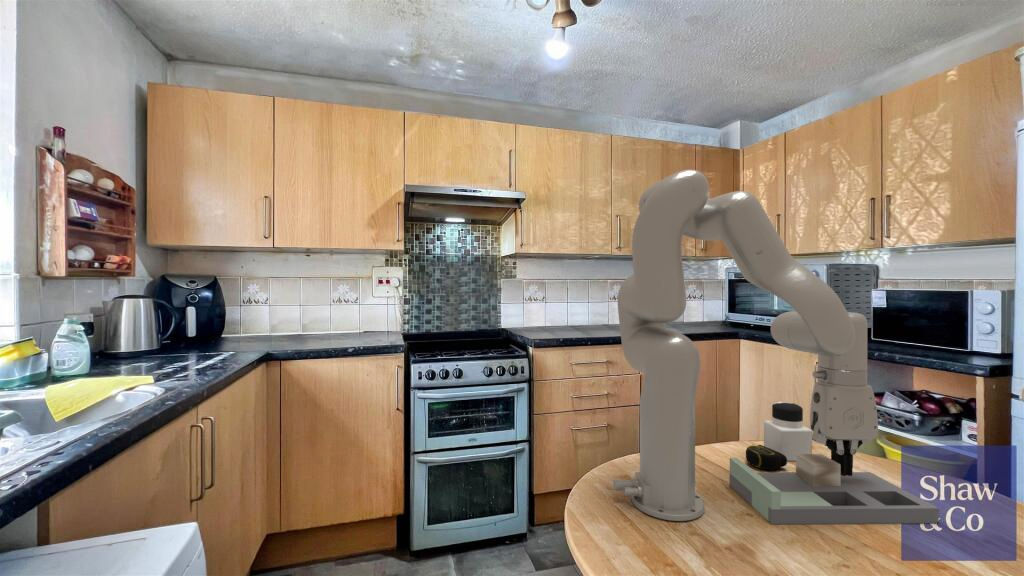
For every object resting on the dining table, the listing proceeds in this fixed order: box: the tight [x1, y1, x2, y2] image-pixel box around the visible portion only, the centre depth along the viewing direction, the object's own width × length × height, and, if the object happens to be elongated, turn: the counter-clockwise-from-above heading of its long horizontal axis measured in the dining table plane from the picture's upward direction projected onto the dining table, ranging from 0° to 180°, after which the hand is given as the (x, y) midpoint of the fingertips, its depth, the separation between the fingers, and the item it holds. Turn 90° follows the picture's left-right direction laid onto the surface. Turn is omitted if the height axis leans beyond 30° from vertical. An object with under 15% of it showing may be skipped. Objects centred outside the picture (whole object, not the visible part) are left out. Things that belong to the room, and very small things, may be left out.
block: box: [795, 453, 841, 486], centre depth 84 cm, size 5×5×4 cm
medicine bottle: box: [763, 401, 813, 462], centre depth 102 cm, size 7×7×12 cm
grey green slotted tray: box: [729, 457, 940, 525], centre depth 80 cm, size 28×14×6 cm, turn 90°
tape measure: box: [745, 444, 788, 471], centre depth 96 cm, size 7×7×4 cm
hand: (841, 472), depth 84 cm, fingers closed
